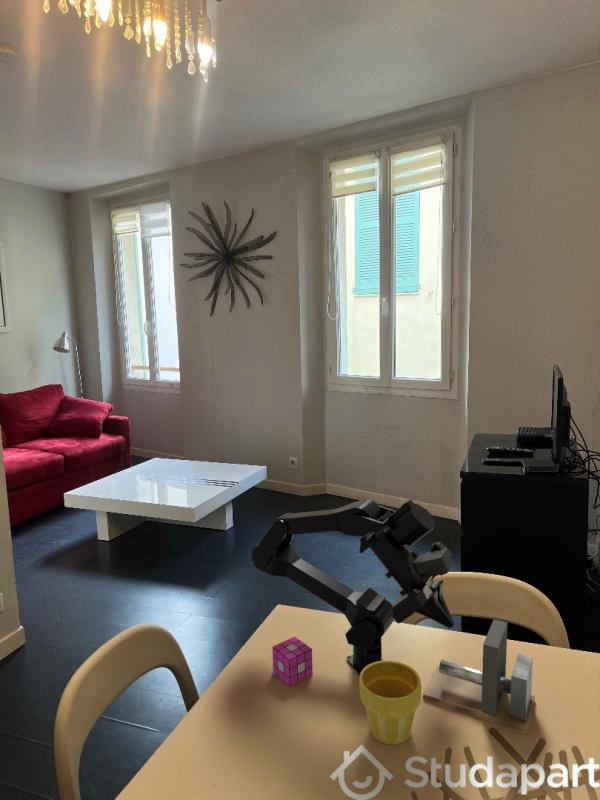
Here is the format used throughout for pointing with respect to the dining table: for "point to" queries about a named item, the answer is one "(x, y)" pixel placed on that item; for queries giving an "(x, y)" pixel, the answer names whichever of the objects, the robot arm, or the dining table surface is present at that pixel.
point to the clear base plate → (471, 700)
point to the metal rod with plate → (501, 683)
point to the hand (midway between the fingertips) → (452, 626)
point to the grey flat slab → (493, 665)
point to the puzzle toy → (292, 661)
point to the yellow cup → (390, 699)
